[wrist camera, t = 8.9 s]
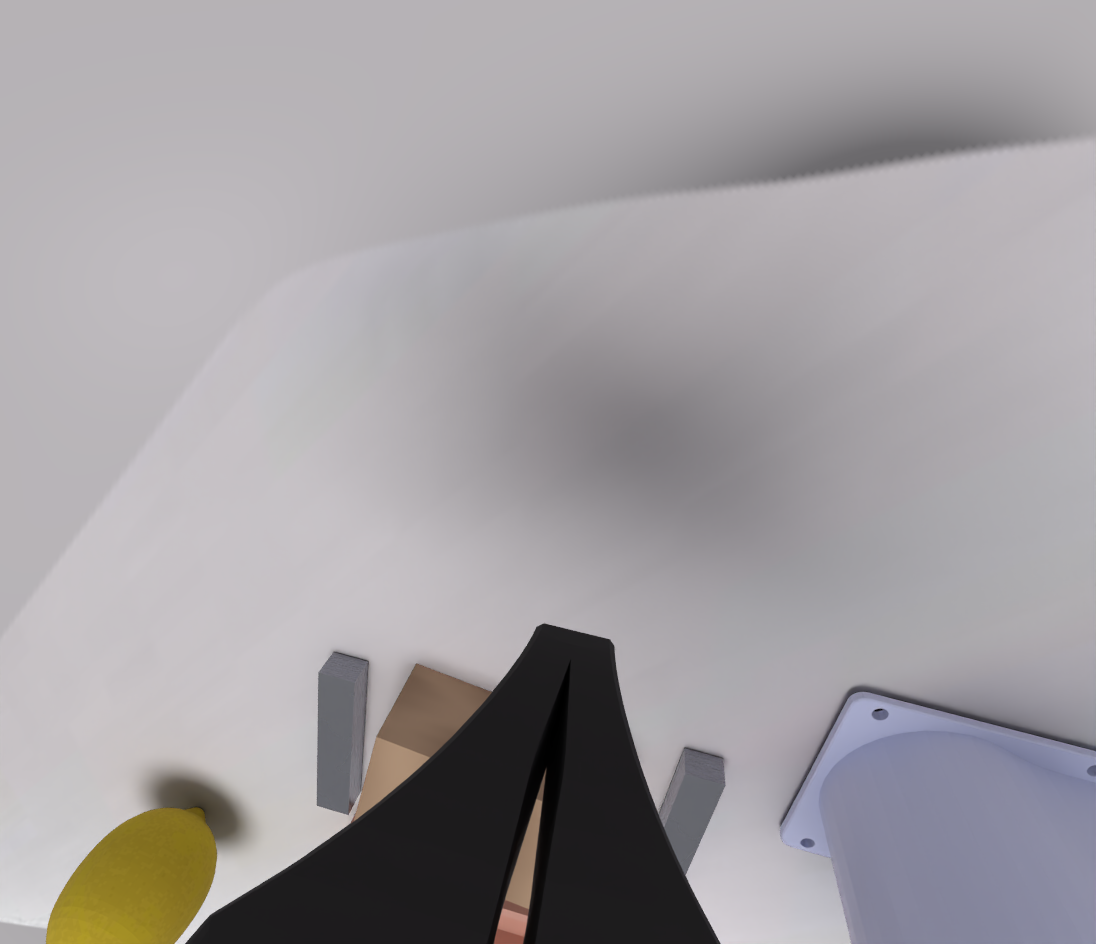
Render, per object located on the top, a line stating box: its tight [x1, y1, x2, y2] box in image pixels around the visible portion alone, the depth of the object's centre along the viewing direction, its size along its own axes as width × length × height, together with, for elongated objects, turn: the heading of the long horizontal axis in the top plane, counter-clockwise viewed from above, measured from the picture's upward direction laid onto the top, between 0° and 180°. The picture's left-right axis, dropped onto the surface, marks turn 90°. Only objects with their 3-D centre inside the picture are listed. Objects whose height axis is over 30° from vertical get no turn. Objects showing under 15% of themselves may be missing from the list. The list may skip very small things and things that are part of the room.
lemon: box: [46, 807, 217, 944], centre depth 28 cm, size 6×6×8 cm
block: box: [354, 664, 546, 909], centre depth 24 cm, size 9×6×4 cm, turn 73°
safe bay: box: [317, 652, 725, 875], centre depth 26 cm, size 16×8×1 cm, turn 80°
